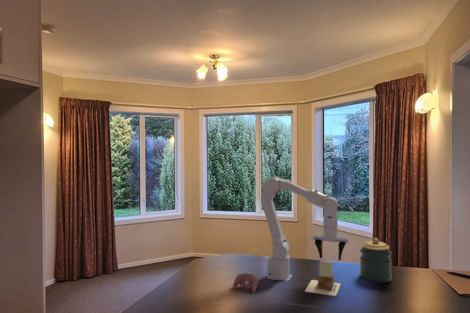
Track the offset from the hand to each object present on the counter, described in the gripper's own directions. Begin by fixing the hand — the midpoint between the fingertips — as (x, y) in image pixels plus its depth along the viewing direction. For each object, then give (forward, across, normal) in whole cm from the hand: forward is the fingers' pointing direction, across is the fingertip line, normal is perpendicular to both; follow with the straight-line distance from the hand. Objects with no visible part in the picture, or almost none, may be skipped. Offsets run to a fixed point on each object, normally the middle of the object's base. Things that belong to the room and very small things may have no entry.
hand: (330, 258), depth 157 cm
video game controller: (+11, -30, -20) cm, 38 cm away
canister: (+11, +17, +14) cm, 24 cm away
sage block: (+5, -1, -7) cm, 8 cm away
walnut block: (+10, -1, -6) cm, 12 cm away
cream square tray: (+10, -2, -8) cm, 13 cm away
